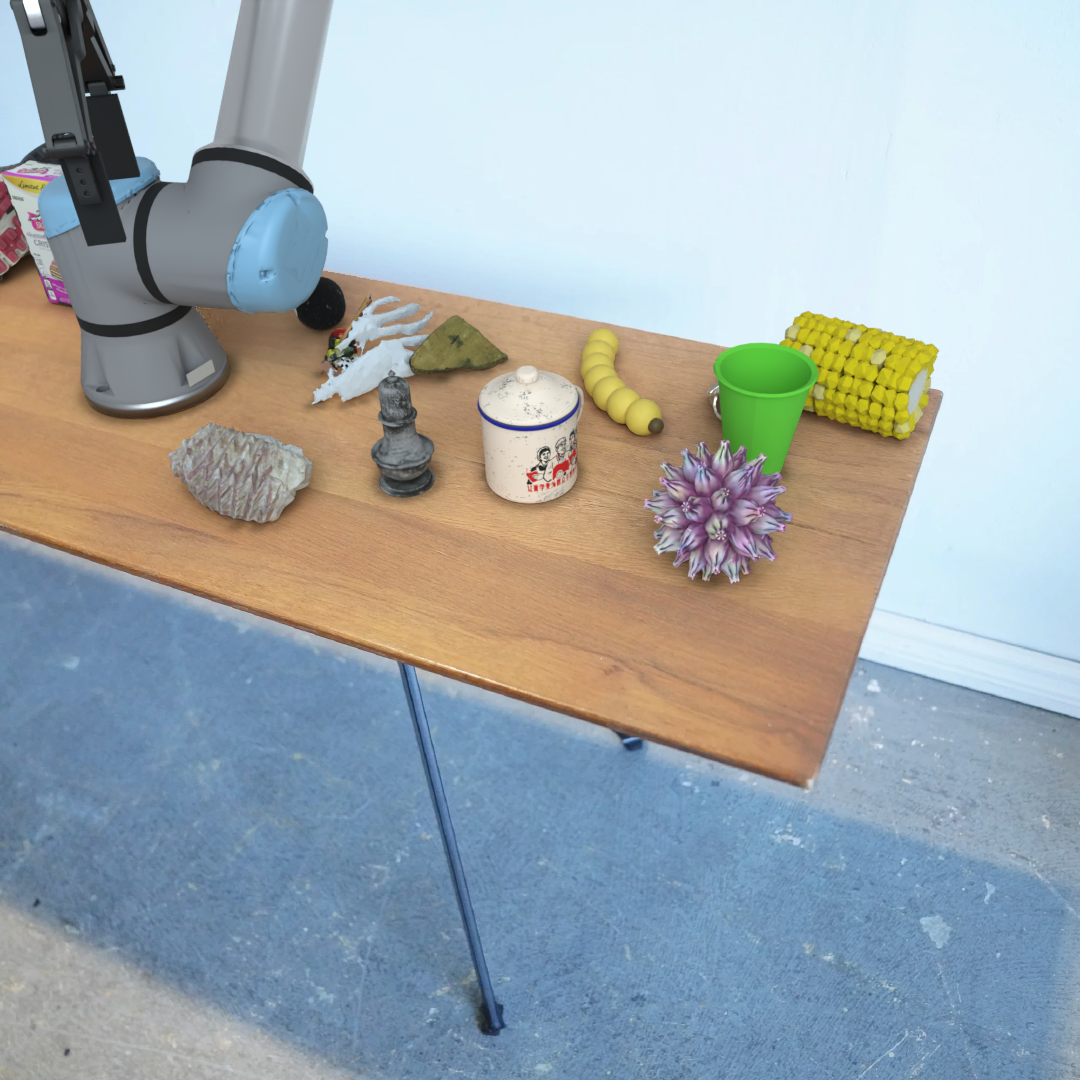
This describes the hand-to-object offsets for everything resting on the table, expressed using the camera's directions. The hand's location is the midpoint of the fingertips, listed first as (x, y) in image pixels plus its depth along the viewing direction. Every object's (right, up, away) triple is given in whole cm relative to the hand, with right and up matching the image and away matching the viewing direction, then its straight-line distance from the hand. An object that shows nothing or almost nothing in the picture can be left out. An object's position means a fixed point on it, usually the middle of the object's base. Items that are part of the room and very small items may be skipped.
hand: (116, 208), depth 80 cm
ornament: (+55, -12, +23) cm, 61 cm away
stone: (+25, -8, +31) cm, 41 cm away
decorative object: (+19, -8, +31) cm, 38 cm away
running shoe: (-34, +17, +48) cm, 62 cm away
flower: (+48, -28, +6) cm, 56 cm away
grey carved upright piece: (+21, -21, +16) cm, 34 cm away
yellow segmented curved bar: (+41, -11, +26) cm, 50 cm away
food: (+61, -13, +16) cm, 65 cm away
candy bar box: (-22, +3, +47) cm, 52 cm away
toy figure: (+13, -6, +28) cm, 31 cm away
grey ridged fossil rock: (+6, -22, +15) cm, 28 cm away
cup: (+54, -20, +16) cm, 59 cm away
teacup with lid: (+34, -20, +17) cm, 42 cm away
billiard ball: (+8, -1, +40) cm, 41 cm away
